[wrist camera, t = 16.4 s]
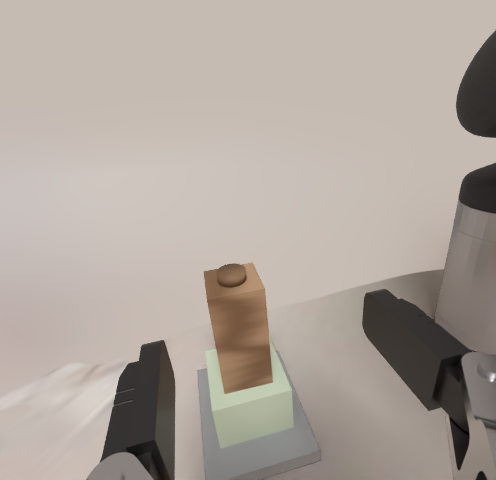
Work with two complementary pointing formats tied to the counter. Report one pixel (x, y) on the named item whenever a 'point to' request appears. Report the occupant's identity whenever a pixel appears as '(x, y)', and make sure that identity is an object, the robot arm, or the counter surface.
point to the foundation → (253, 425)
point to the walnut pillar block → (239, 326)
